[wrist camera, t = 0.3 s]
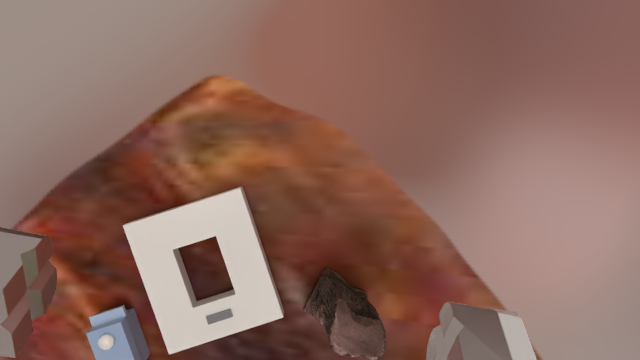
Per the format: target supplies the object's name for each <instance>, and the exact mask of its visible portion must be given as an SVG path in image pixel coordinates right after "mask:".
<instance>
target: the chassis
mask: <svg viewBox="0 0 640 360" xmlns="http://www.w3.org/2000/svg"><path fill="white" fill-rule="evenodd" d="M123 228H124V230H125V233H126V236H127V239H128V242H129V244H130V247H131V250H132V253H133V255H134V258H135V261H136V264H137V267H138V269H139V272H140V275H141V278H142V281H143V283H144V286H145V289H146V292H147V294H148V297H149V300H150V303H151V306H152V308H153V311H154V314H155V317H156V319H157V322H158V325H159V328H160V331H161V333H162V336H163V339H164V342H165V345H166V347H167V350H168V353H169V354H172V353H175V352H179V351H182V350H185V349H188V348H191V347H194V346H197V345H200V344H203V343H206V342H209V341H212V340H216V339H219V338H222V337H225V336H228V335H231V334H234V333H237V332H240V331H243V330H246V329H250V328H253V327H256V326H259V325H262V324H265V323H268V322H271V321H274V320H277V319H280V318H283V317H284V309H283V306H282V303H281V300H280V297H279V294H278V291H277V288H276V285H275V282H274V279H273V276H272V273H271V270H270V267H269V264H268V261H267V258H266V255H265V252H264V249H263V246H262V243H261V240H260V237H259V234H258V231H257V228H256V225H255V222H254V219H253V216H252V213H251V210H250V207H249V204H248V201H247V198H246V195H245V192H244V189H243V186H240V187H237V188H234V189H231V190H228V191H225V192H222V193H219V194H215V195H212V196H209V197H206V198H203V199H200V200H197V201H194V202H190V203H187V204H184V205H181V206H178V207H175V208H172V209H169V210H165V211H162V212H159V213H156V214H153V215H150V216H147V217H144V218H140V219H137V220H134V221H131V222H129V223H127V224H125V225H123ZM214 236H216V238H217V241H218V244H219V247H220V250H221V253H222V256H223V258H224V261H225V264H226V267H227V270H228V273H229V276H230V279H231V282H232V285H233V288H234V289H233V290H230V291H227V292H224V293H221V294H218V295H215V296H212V297H209V298H206V299H202V300H199V301H197V300H196V297H195V295H194V292H193V289H192V286H191V283H190V280H189V277H188V275H187V272H186V269H185V266H184V263H183V260H182V257H181V255H180V252H179V249H178V248H180V247H183V246H186V245H189V244H192V243H196V242H199V241H202V240H205V239H208V238H211V237H214Z"/></svg>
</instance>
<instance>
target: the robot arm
mask: <svg viewBox="0 0 640 360" xmlns="http://www.w3.org/2000/svg"><path fill="white" fill-rule="evenodd" d="M53 253H54V247H53V241H52V239H51V238H50V237H48V236H44V235H39V234H34V233H28V232H23V231H18V230H13V229H7V228H1V227H0V356H5V357H13V358H16V356H17V355H18V353H19V352H20V350H21V349H22V347H23V346H24V344H25V343H26V341H27V340H28V338H29V336H30V335H31V333H32V332H33V327H32V320H33V319H35V318H37V317H39V316H41V315H43V314H44V313H45V311H46V310H47V308H48V306H49V305H50V303H51V301H52V298H53V295H54V292H55V289H56V282H57V272H56V268H55V267H54V265H53V264H52V263H51V262H50V261H49V259H50V257H51V256H52V254H53ZM439 317H440V322H441V325H439V326H437V327H436V328H434V329H433V330H432V333H431V335H430V338H429V341H428V347H427V360H537V359H536V356H535V354H534V351H533V348H532V346H531V343H530V340H529V338H528V335H527V332H526V330H525V327H524V324H523V322H522V319H521V316H520V315H519V314H518V313H517V312H512V311H505V310H498V309H490V308H484V307H477V306H471V305H464V304H458V303H452V302H446V303H445V304H444V305H443V307H442V309H441V311H440V314H439Z"/></svg>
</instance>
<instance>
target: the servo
mask: <svg viewBox="0 0 640 360" xmlns="http://www.w3.org/2000/svg"><path fill="white" fill-rule="evenodd" d="M89 319H90V322H91V325H92V328H91V329H90V330H89V331H88V332H87V333H86V335H87V337H88V340H89V343H90V345H91V348H92V351H93V353H94V356H95V359H96V360H147V358H148V356H149V355H150V351H149V348H148V346H147V343H146V340H145V337H144V335H143V332H142V329H141V326H140V324H139V321H138V318H137V315H136V313H135V310H134V308H132V309H129V310H126V309H125V306H124V305H123V306H119V307H116V308H113V309H110V310H107V311H104V312H101V313H98V314H95V315H92V316H90V317H89Z"/></svg>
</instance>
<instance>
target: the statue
mask: <svg viewBox="0 0 640 360" xmlns="http://www.w3.org/2000/svg"><path fill="white" fill-rule="evenodd" d="M304 311H305V312H306V313H308V314H311V315H313V316H315V317H317V319H318V321H319V322H320V324H321V325H322V326H324V327H325V329H326V332H327V334H328V338H329V343H330V345H331V349H332V350H333V352H335V353H337V354H339V355H341V356H347V355H348V356H350V357H351V358H353V357H360V356H364V357H365V358H367V359H368V360H378V358H381V357H382V355H383V354H384V351H385V344H386V342H385V341H386V340H387V339H386V337H385V333H386V332H385V329H384V327H383V324H382V321H381V320H380V319H379V315H378V313H377V311H376V309H375V308H374V307H373V305H372V304H370V302H369V301H368V300H367V293H366V292H365V291H363V290H361V289H359V288H358V289H357V288H355V287H353V286H351V285H348V284H347V283H346V281H345V280H344V279H343V278H342V277H341V276H340V275H339V274H338V273H337V272H336V271H333V270H331V269H329V268H325V270H324V271H323V273H322V276H321V277H320V278H319V280H318V282H317V284H316V286H315V288H314V290H313V292H312V294H311V296H310V298H309V300H308V301H307V303H306V305H305V307H304Z"/></svg>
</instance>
